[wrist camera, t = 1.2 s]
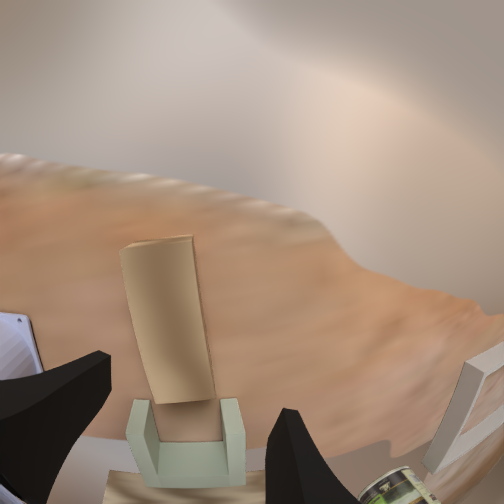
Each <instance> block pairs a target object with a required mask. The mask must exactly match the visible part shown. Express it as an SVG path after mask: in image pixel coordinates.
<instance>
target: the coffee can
mask: <svg viewBox="0 0 504 504" xmlns="http://www.w3.org/2000/svg"><path fill="white" fill-rule="evenodd" d="M357 500H358V501H359V502H361V503H362V504H441V503H440V502H439V501H438V500H437V499H436V497H435V496H434V495H433V494H432V493H431V492H430V491H429V490H428V488H427V487H426V486H425V485H424V484H423V483H422V482H421V480H420V479H419V478H418V477H417V476H416V475H415V474H414V473H413V471H412V470H411V469H410V467H409V466H401V467H398V468H395V469H393V470H391V471H389V472H387V473H385V474H384V475H382V476H380V477H379V478H377V479H376V480H375V481H373V482H372V483H371V484H369V485H368V486H367V487H366V488H365V489H364V490H363V491H362V492H361V493H360V495H359V496H358V498H357Z"/></svg>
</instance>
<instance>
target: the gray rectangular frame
mask: <svg viewBox="0 0 504 504" xmlns="http://www.w3.org/2000/svg"><path fill="white" fill-rule="evenodd" d="M503 365H504V341H503V342H501V343H500V344H498V345H496V346H494V347H492V348H491V349H489V350H487V351H485V352H483V353H481V354H479V355H477V356H475V357H473V358H471V359H469V360H467V361H465V364H464V367H463V370H462V373H461V375H460V378H459V381H458V384H457V386H456V389H455V392H454V394H453V397H452V399H451V402H450V404H449V407H448V409H447V411H446V413H445V416H444V418H443V420H442V422H441V424H440V427H439V429H438V431H437V433H436V435H435V437H434V439H433V441H432V443H431V445H430V446H429V448H428V450H427V452H426V454H425V456H424V458H423V459H422V461H421V463H422V464H423V465H424V466H425V467H426V468H427V469H428V470H429V472H430V473H431V474H432V475H433V474H435V473H437V472H438V471H440V470H442V469H443V468H445V467H446V466H448V465H449V464H451V463H452V462H454V461H455V460H457V459H458V458H460V457H461V456H463V455H464V454H465V453H467V452H468V451H469V450H471V449H472V448H473V447H475V446H476V445H477V444H479V443H480V442H481V441H482V440H484V439H485V438H486V437H487V436H489V435H490V434H491V433H492V432H493V431H495V430H496V429H497V428H498V427H499V426H500V425H501V424H503V423H504V404H503V405H502V406H500V407H499V408H498V409H497V410H495V411H494V412H493V413H492V414H490V415H489V416H488V417H487V418H485V419H484V420H483V421H481V422H480V423H479V424H477V425H476V426H474V427H473V428H472V429H470V430H469V431H467V432H466V433H464V434H463V435H461V436H460V437H459V435H460V433H461V431H462V429H463V427H464V425H465V423H466V421H467V419H468V417H469V415H470V413H471V411H472V409H473V406H474V404H475V402H476V400H477V397H478V395H479V393H480V390H481V388H482V385H483V383H484V380H485V378H486V377H487V376H488V375H490V374H491V373H493V372H494V371H496V370H497V369H499V368H500V367H502V366H503Z"/></svg>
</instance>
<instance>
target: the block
mask: <svg viewBox="0 0 504 504" xmlns="http://www.w3.org/2000/svg"><path fill="white" fill-rule="evenodd" d="M220 406H221V421H222V435H223V441H217V442H189V443H174V442H160V440H159V436H158V433H157V429H156V425H155V421H154V417H153V412H152V408H151V404H150V400H137V399H134V401H133V405H132V409H131V413H130V417H129V421H128V424H127V428H126V433H125V434H126V437H127V440H128V443H129V445H130V448H131V451H132V453H133V456H134V459H135V461H136V463H137V466H138V468H139V471H140V473H141V475H142V478H143V480H144V482H145V484H146V486H147V487H158V488H216V487H231V486H241V485H246V463H245V462H246V439H245V429H244V425H243V421H242V417H241V414H240V410H239V406H238V401H237V398H231V399H220Z"/></svg>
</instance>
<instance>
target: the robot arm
mask: <svg viewBox="0 0 504 504" xmlns="http://www.w3.org/2000/svg"><path fill="white" fill-rule="evenodd" d="M20 319H21V321H22V322H21V321H20ZM111 390H112V387H111V355H109V354H106V353H104V352H102V351H100V350H98V351H95V352H93V353H91V354H88V355H86V356H84V357H81V358H79V359H77V360H74V361H72V362H69V363H67V364H64V365H62V366H59V367H56V368H53V369H51V370H48V371H45V372H43V369H42V365H41V362H40V359H39V355H38V352H37V348H36V345H35V341H34V337H33V333H32V329H31V324H30V320H29V318H28V316H26V315H23V314H13V313H4V312H0V504H24V503H23V502H22V501H24V502H25V503H27V504H46V503H47V500H48V497H49V494H50V491H51V489H52V486H53V484H54V482H55V479H56V477H57V475H58V473H59V471H60V469H61V467H62V465H63V463H64V461H65V459H66V457H67V455H68V453H69V452H70V450H71V448H72V446H73V445H74V443H75V442H76V441H77V439H78V438H79V437H80V435H81V434H82V433H83V431H84V430H85V429H86V427H87V426H88V425H89V424H90V422H91V421H92V420H93V418H94V417H95V416H96V415H97V413H98V412H99V411H100V409H101V408H102V406H103V405H104V403H105V401H106V399H107V398H108V396H109V394H110V392H111ZM16 496H17V497H18V498H20V499H21V500H22V501H20V500H19V499H18V498H17V497H16ZM265 504H362V503H361V502H359V501H358V500H357V499H356V498H355V497H354V496H353V495H352V494H351V493H350V492H349V491H348V490H347V489H346V488H345V487H344V486H343V485H342V484H341V482H340V481H339V480H338V479H337V477H336V476H335V475H334V474H333V472H332V471H331V469H330V468H329V467H328V465H327V464H326V462H325V461H324V459H323V457H322V456H321V454H320V453H319V451H318V449H317V447H316V446H315V444H314V442H313V440H312V438H311V436H310V434H309V432H308V430H307V428H306V426H305V424H304V422H303V420H302V418H301V416H300V414H299V412H298V410H292V409H286V408H283V409H282V411H281V413H280V415H279V417H278V419H277V421H276V423H275V425H274V427H273V429H272V431H271V433H270V435H269V437H268V442H267V449H266V458H265Z"/></svg>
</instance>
